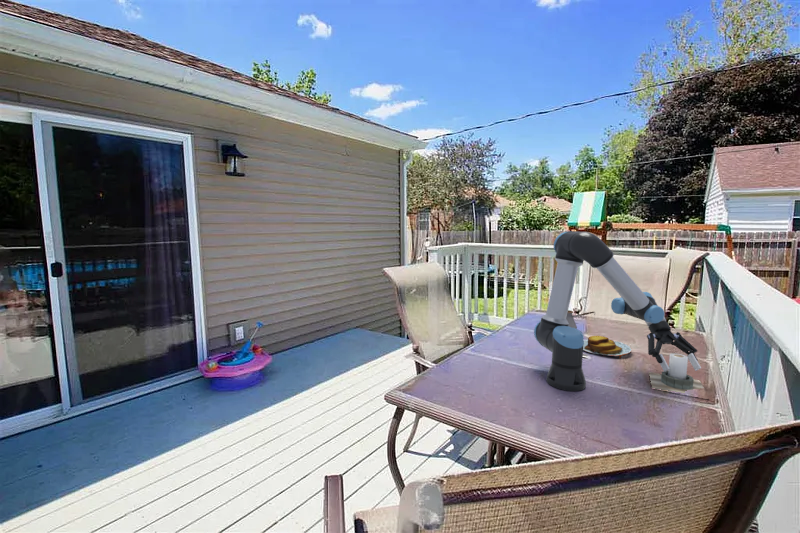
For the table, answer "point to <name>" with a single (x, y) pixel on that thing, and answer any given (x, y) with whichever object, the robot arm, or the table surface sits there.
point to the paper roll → (678, 366)
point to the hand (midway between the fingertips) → (682, 369)
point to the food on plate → (605, 346)
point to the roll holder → (673, 382)
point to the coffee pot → (571, 319)
